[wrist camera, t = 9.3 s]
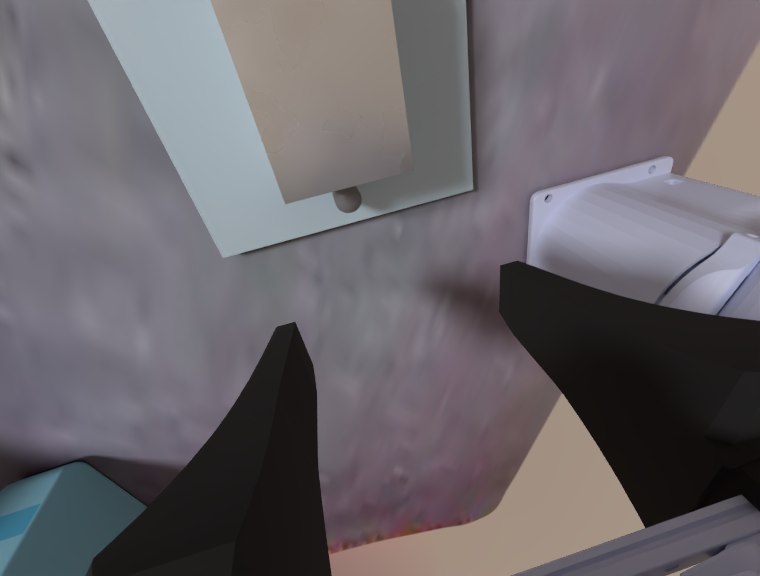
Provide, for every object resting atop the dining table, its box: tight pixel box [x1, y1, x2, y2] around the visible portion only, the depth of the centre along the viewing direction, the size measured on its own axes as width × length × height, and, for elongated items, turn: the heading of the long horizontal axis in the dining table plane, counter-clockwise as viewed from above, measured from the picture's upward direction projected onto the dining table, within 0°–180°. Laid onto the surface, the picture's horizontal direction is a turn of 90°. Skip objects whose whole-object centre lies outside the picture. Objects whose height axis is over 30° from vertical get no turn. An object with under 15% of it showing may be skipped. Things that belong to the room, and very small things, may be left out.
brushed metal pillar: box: [210, 0, 414, 204], centre depth 11 cm, size 4×8×6 cm, turn 11°
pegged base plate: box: [88, 0, 473, 258], centre depth 14 cm, size 14×15×4 cm
